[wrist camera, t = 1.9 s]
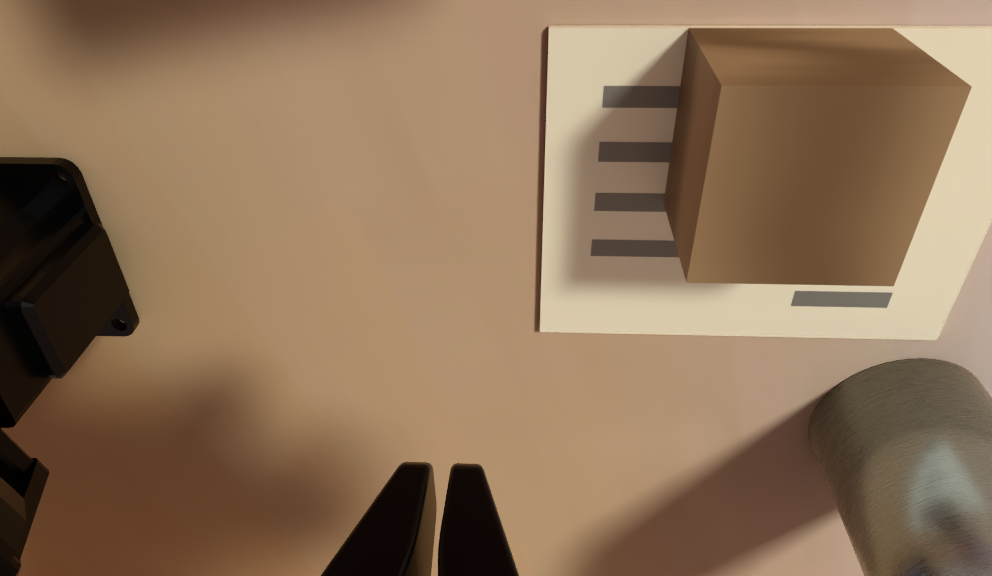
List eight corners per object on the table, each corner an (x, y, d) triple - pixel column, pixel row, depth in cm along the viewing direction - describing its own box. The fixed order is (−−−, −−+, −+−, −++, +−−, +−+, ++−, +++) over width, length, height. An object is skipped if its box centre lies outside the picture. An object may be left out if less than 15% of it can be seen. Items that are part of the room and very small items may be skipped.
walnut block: (663, 202, 21) (686, 282, 18) (688, 27, 18) (722, 85, 15) (837, 205, 21) (893, 286, 17) (892, 28, 18) (972, 86, 14)
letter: (539, 328, 24) (539, 332, 24) (548, 25, 18) (548, 27, 18) (933, 336, 24) (937, 340, 23) (1075, 25, 18) (1081, 28, 17)
